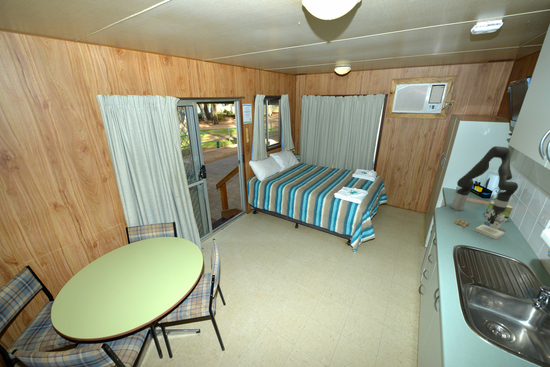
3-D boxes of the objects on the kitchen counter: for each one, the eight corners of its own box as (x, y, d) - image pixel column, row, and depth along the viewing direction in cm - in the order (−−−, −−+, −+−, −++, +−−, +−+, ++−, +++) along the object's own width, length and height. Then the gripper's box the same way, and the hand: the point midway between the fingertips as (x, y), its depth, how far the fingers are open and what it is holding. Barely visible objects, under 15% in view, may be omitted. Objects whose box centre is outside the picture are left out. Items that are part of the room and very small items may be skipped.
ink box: (484, 224, 184) (488, 212, 180) (487, 222, 186) (491, 210, 181) (496, 229, 177) (502, 216, 172) (499, 227, 179) (505, 215, 174)
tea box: (484, 216, 208) (490, 203, 203) (484, 212, 215) (490, 199, 209) (506, 222, 198) (512, 208, 193) (506, 217, 205) (512, 204, 200)
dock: (474, 230, 187) (476, 225, 185) (483, 226, 192) (485, 221, 190) (495, 239, 175) (497, 233, 173) (503, 234, 181) (506, 229, 179)
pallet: (453, 223, 199) (454, 221, 198) (458, 220, 202) (459, 219, 201) (463, 227, 192) (464, 225, 191) (468, 225, 195) (469, 223, 194)
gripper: (498, 201, 180) (491, 218, 186) (489, 204, 174) (482, 222, 181) (510, 204, 174) (503, 223, 180) (502, 208, 168) (494, 227, 174)
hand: (493, 222), depth 180 cm, fingers closed on ink box, 5 cm apart
